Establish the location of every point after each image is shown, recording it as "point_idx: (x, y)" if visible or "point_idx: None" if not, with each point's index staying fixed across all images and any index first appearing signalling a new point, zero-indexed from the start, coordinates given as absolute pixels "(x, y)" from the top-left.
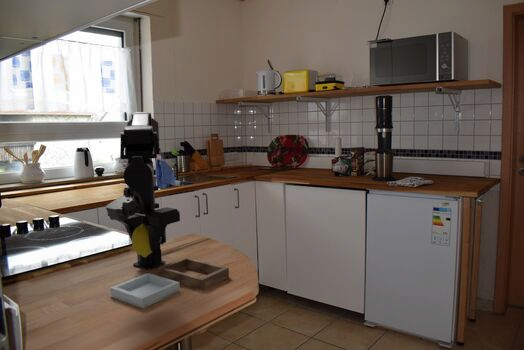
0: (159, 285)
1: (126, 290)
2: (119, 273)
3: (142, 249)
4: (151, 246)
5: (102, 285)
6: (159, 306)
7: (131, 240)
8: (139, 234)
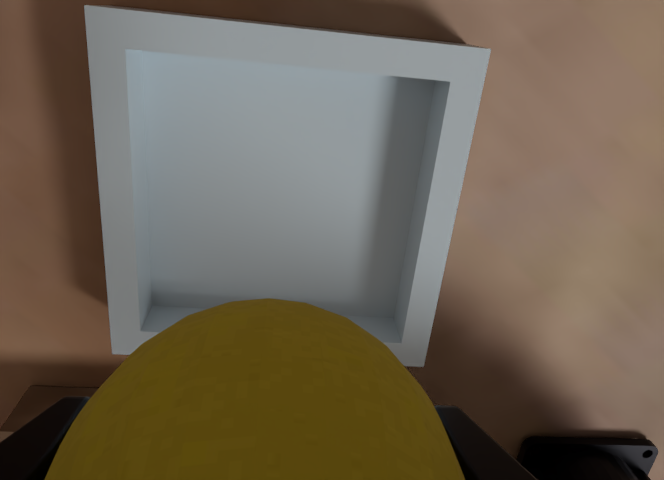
0: None
1: (418, 153)
2: (661, 334)
3: (150, 341)
4: (15, 443)
5: (649, 155)
6: (44, 92)
7: (517, 467)
8: None
